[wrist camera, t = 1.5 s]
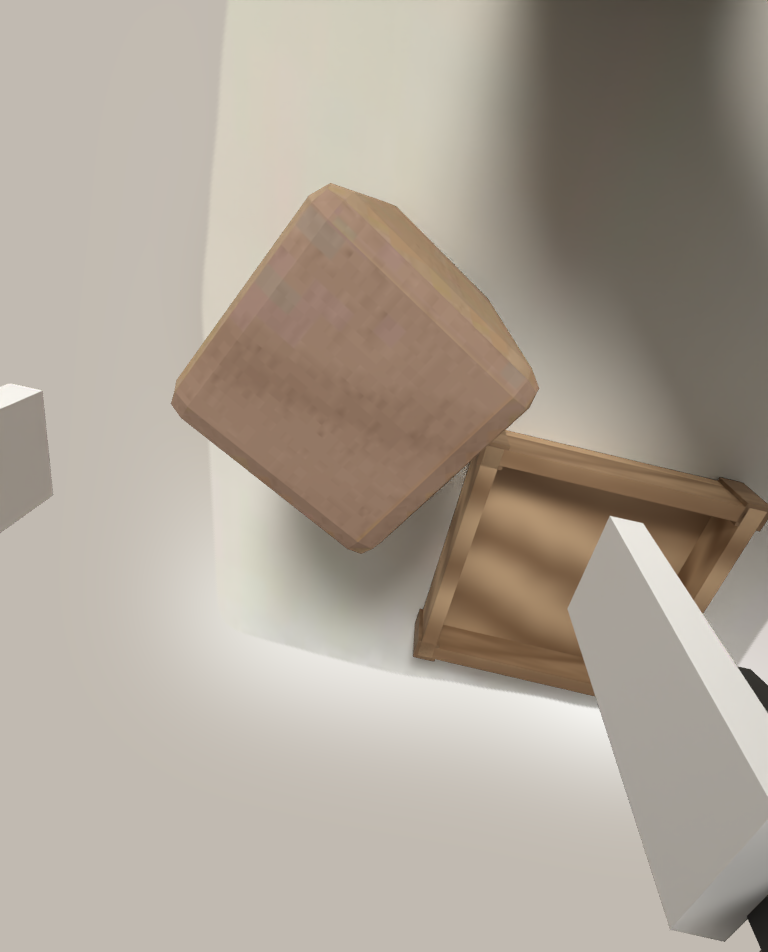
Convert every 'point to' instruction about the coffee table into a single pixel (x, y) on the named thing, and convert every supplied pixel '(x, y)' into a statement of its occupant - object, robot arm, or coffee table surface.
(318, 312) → the wooden block
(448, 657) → the crate
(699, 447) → the coffee table surface
